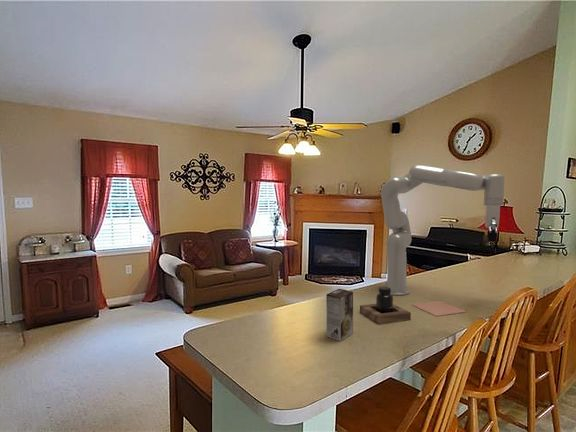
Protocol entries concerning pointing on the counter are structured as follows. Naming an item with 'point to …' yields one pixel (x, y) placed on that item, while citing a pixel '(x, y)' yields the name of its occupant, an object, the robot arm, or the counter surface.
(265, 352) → the counter surface
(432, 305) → the terracotta mat
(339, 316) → the coffee box
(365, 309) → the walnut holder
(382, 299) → the supplement bottle
